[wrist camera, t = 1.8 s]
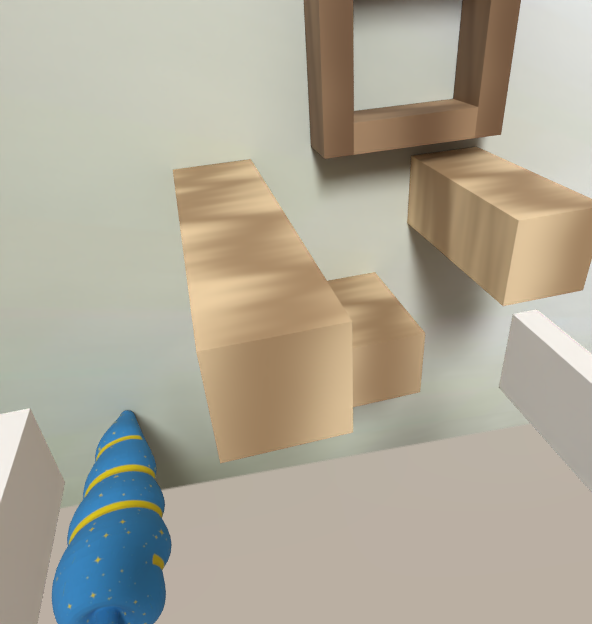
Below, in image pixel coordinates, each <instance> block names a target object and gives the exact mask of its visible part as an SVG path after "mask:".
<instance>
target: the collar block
mask: <svg viewBox="0 0 592 624" xmlns="http://www.w3.org/2000/svg"><path fill="white" fill-rule="evenodd" d="M520 3H521V0H463V3H462V13H461V24H460V35H459V45H458V56H457V66H456V77H455V87H454V98H453V99H449V100H440V101H432V102H424V103H416V104H408V105H400V106H392V107H383V108H375V109H367V110H359V111H354V73H353V0H304V15H305V35H306V55H307V76H308V96H309V116H310V136H311V147H312V148H313V149H314V150H315V151H317V152H318V153H319V154H320V155H321V156H322V157H323V158H324V159H327V158H334V157H341V156H349V155H356V154H363V153H370V152H378V151H385V150H392V149H399V148H407V147H414V146H421V145H428V144H436V143H443V142H450V141H458V140H465V139H472V138H479V137H487V136H494V135H501V131H502V124H503V118H504V111H505V104H506V97H507V91H508V84H509V77H510V70H511V64H512V57H513V50H514V43H515V36H516V30H517V23H518V16H519V9H520Z"/></svg>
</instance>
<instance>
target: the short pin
mask: <svg viewBox="0 0 592 624" xmlns="http://www.w3.org/2000/svg"><path fill="white" fill-rule="evenodd" d="M327 282H328V284H329V285H330V287H331V288H332V290H333V292H334V293H335V295H336V296H337V298H338V300H339V301H340V303H341V304H342V306H343V308H344V309H345V311H346V312H347V314H348V316H349V317H350V319H351V320H352V355H353V407H356V406H361V405H365V404H369V403H374V402H378V401H383V400H387V399H392V398H396V397H400V396H405V395H409V394H414V393H418V392H420V387H421V376H422V364H423V353H424V341H425V332H424V331H423V330H422V329H421V328H420V326H419V325H418V324H417V323H416V321H415V320H414V319H413V318H412V317H411V315H410V314H409V313H408V312H407V311H406V309H405V308H404V307H403V306H402V304H401V303H400V302H399V301H398V300H397V298H396V297H395V296H394V295H393V294H392V292H391V291H390V290H389V289H388V287H387V286H386V285H385V284H384V283H383V281H382V280H381V279H380V278H379V277H378V275H377V274H376V273H375V272H374V273H368V274H363V275H357V276H352V277H346V278H341V279H335V280H329V281H327Z"/></svg>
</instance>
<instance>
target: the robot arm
mask: <svg viewBox="0 0 592 624" xmlns="http://www.w3.org/2000/svg"><path fill="white" fill-rule="evenodd" d="M499 388H500V389H501V391H502V392H503V393H504V394H505V395H506V396H507V397H508V399H509V400H510V401H511V402H512V403H513V404H514V405H515V406H516V408H517V409H518V410H519V411H520V412H521V413H522V414H523V416H524V417H525V418H526V419H527V420H528V421H529V422H530V423H531V425H532V426H533V427H534V428H535V429H536V430H537V431H538V432H539V434H540V435H541V436H542V437H543V438H544V439H545V440H546V442H547V443H548V444H549V445H550V446H551V447H552V448H553V449H554V451H555V452H556V453H557V454H558V455H559V456H560V457H561V458H562V460H563V461H564V462H565V463H566V464H567V465H568V466H569V468H570V469H571V470H572V471H573V472H574V473H575V474H576V476H577V477H578V478H579V479H580V480H581V481H582V482H583V483H584V485H585V486H586V487H587V488H588V489H589V490H590V491H591V492H592V354H591V353H590V352H589V351H588V350H586V349H585V348H584V347H583V346H581V345H580V344H579V343H578V342H576V341H575V340H574V339H573V338H572V337H570V336H569V335H568V334H567V333H565V332H564V331H563V330H562V329H560V328H559V327H558V326H557V325H556V324H554V323H553V322H552V321H551V320H549V319H548V318H547V317H546V316H544V315H543V314H542V313H541V312H539V311H538V310H537V309H536V310H531V311H526V312H521V313H516V314H513V316H512V321H511V326H510V331H509V337H508V342H507V347H506V352H505V357H504V363H503V368H502V373H501V378H500V384H499ZM64 485H65V482H64V479H63V477H62V475H61V473H60V471H59V469H58V467H57V465H56V462H55V460H54V458H53V456H52V454H51V452H50V450H49V447H48V445H47V443H46V441H45V439H44V437H43V435H42V433H41V430H40V428H39V426H38V424H37V422H36V420H35V418H34V415H33V413H32V411H31V409H30V408H29V409H24V410H19V411H14V412H9V413H4V414H0V624H37V623H38V618H39V613H40V608H41V602H42V598H43V593H44V587H45V582H46V577H47V572H48V567H49V562H50V557H51V551H52V546H53V541H54V536H55V531H56V526H57V521H58V516H59V511H60V505H61V500H62V495H63V490H64Z"/></svg>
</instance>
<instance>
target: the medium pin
mask: <svg viewBox="0 0 592 624" xmlns="http://www.w3.org/2000/svg"><path fill="white" fill-rule="evenodd" d="M407 223H408V224H409V225H411V226H412V227H413V228H414V229H415V230H416V231H417V232H419V233H420V234H421V235H422V236H423V237H424V238H425V239H427V240H428V241H429V242H430V243H431V244H432V245H433V246H435V247H436V248H437V249H438V250H439V251H440V252H442V253H443V254H444V255H445V256H446V257H447V258H448V259H450V260H451V261H452V262H453V263H454V264H455V265H456V266H458V267H459V268H460V269H461V270H462V271H463V272H464V273H466V274H467V275H468V276H469V277H470V278H471V279H473V280H474V281H475V282H476V283H477V284H478V285H479V286H481V287H482V288H483V289H484V290H485V291H486V292H487V293H489V294H490V295H491V296H492V297H493V298H494V299H495V300H497V301H498V302H499V303H500V304H501V305H502V306H506V305H511V304H516V303H521V302H526V301H531V300H536V299H541V298H546V297H551V296H556V295H561V294H566V293H571V292H576V291H581V290H583V288H584V285H585V281H586V277H587V274H588V270H589V267H590V263H591V259H592V199H591V198H588V197H586V196H584V195H582V194H580V193H577V192H575V191H573V190H571V189H569V188H566V187H564V186H562V185H560V184H558V183H555V182H553V181H551V180H549V179H547V178H544V177H542V176H540V175H538V174H535V173H533V172H531V171H529V170H527V169H524V168H522V167H520V166H518V165H516V164H513V163H511V162H509V161H507V160H505V159H502V158H500V157H498V156H496V155H494V154H491V153H489V152H487V151H485V150H483V149H480V148H478V147H470V148H463V149H456V150H449V151H442V152H435V153H428V154H421V155H414V156H411V167H410V185H409V203H408V221H407Z"/></svg>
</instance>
